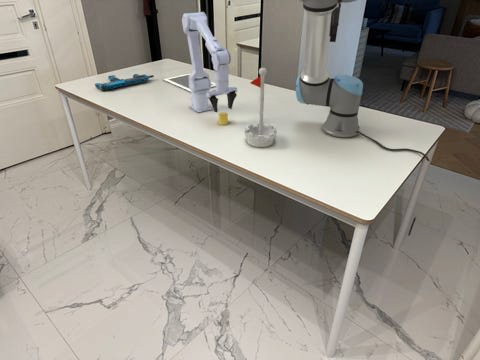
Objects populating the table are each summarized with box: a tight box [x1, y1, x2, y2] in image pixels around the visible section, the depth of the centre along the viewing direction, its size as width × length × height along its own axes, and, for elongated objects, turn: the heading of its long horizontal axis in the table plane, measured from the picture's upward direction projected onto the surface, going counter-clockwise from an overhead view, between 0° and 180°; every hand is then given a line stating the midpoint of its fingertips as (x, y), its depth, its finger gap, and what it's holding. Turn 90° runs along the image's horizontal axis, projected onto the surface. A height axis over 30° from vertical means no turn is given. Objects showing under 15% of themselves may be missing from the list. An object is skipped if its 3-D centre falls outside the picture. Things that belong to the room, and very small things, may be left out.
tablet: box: [162, 73, 216, 93], centre depth 208 cm, size 32×20×1 cm, turn 41°
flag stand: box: [244, 67, 278, 148], centre depth 133 cm, size 13×13×30 cm
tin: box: [217, 111, 229, 126], centre depth 156 cm, size 4×4×4 cm
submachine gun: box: [94, 73, 155, 91], centre depth 208 cm, size 34×4×25 cm
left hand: (222, 110), depth 154 cm, fingers open, 7 cm apart
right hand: (331, 39), depth 166 cm, fingers open, 13 cm apart
